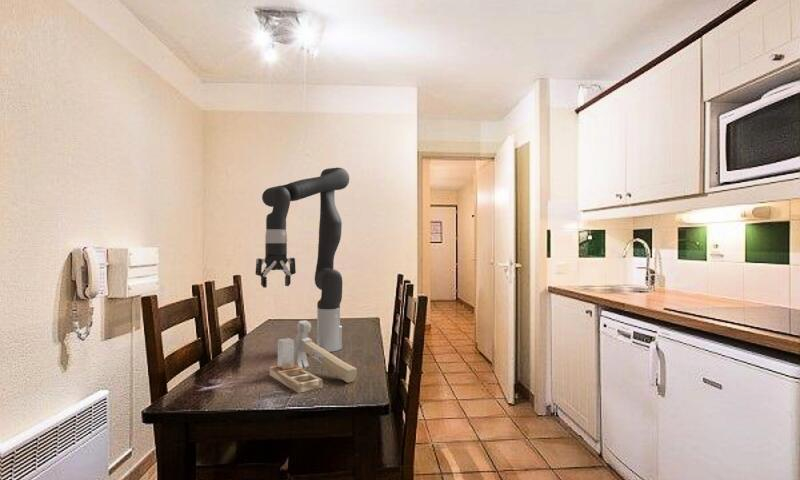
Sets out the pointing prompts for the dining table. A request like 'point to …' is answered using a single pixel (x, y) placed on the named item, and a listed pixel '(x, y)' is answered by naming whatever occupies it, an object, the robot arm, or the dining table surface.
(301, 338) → the hammer
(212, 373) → the dining table surface
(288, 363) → the steel peg
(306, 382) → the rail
